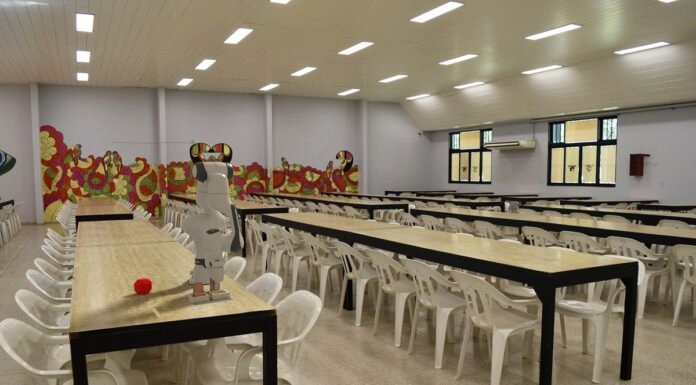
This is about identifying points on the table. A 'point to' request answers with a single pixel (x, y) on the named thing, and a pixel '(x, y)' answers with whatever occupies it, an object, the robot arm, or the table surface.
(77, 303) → the table surface
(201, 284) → the pin
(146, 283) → the ball
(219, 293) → the board
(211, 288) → the terracotta pin
